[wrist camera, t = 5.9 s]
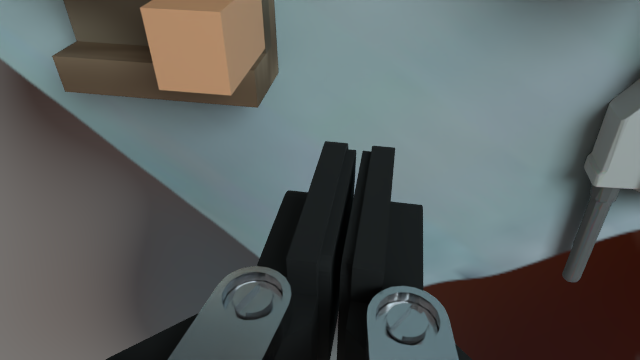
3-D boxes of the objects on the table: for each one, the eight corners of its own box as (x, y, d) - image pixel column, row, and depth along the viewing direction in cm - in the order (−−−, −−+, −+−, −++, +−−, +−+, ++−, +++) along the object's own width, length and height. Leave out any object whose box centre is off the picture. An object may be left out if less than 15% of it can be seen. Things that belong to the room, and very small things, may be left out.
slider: (194, -26, 20) (140, 7, 16) (259, -24, 20) (220, 11, 16) (205, 44, 22) (159, 89, 18) (265, 48, 22) (231, 95, 18)
